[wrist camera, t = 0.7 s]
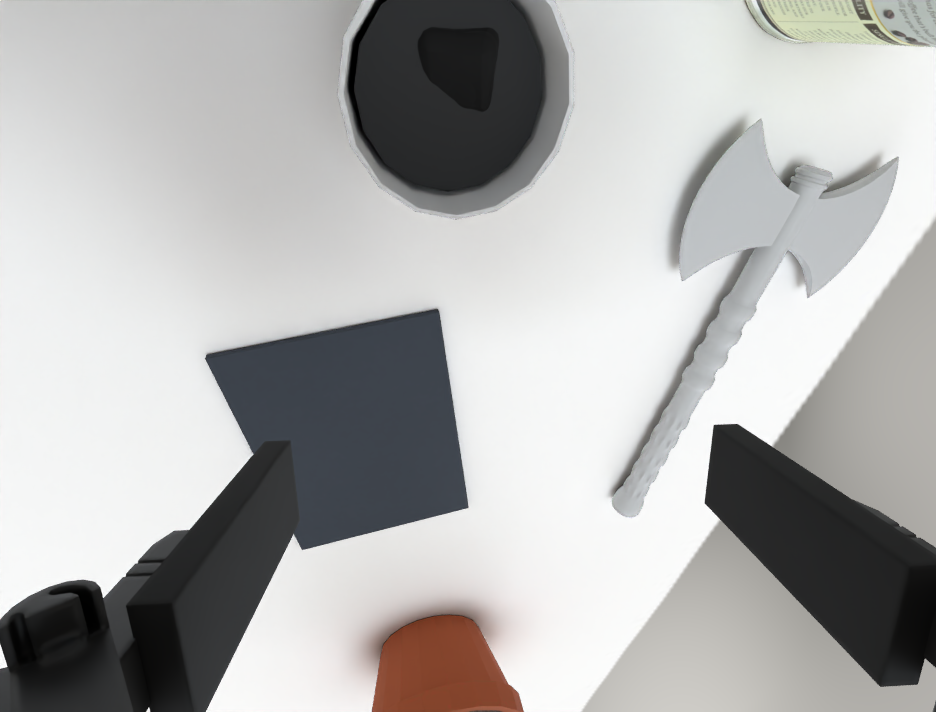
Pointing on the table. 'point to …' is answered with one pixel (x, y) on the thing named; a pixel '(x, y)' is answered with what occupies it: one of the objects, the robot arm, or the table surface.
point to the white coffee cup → (456, 98)
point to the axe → (755, 263)
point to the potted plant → (441, 670)
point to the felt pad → (354, 422)
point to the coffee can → (849, 21)
